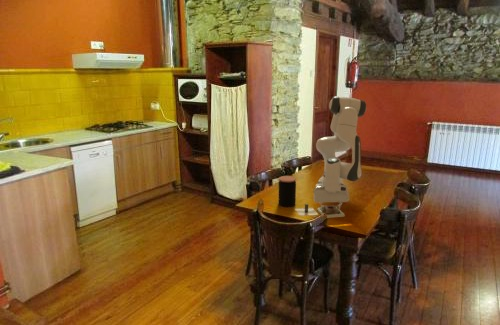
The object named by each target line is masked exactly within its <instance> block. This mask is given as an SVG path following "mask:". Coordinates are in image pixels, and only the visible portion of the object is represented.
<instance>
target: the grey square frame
mask: <svg viewBox="0 0 500 325" xmlns="http://www.w3.org/2000/svg"><path fill="white" fill-rule="evenodd" d="M336 208H337V206H336ZM316 209H317V210H316V212H317V213H318V214H320V215H321V216H322V214H325V212H324V209H321V207H317V208H316ZM341 217H343V218H344V217H345V213H344V212H343V211H342V210H341V209H338V211H337V214H331V215H327V218H326V219H330V218H341Z"/></svg>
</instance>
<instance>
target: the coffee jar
mask: <svg viewBox="0 0 500 325" xmlns="http://www.w3.org/2000/svg"><path fill="white" fill-rule="evenodd" d="M278 180H279V181H278V206H280V207H283V208H292V207H295V206H296V201H297V200H296V198H297V197H296V196H297V193H296V192H297V182H296V180H297V177H295V176H292V175H291V176H290V175H283V176H282V175H281V176H279V177H278Z"/></svg>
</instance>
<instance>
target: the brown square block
mask: <svg viewBox="0 0 500 325" xmlns="http://www.w3.org/2000/svg"><path fill="white" fill-rule="evenodd" d="M323 206H324V210H323V213H324V214H325V215H331V214H338V212H337V211H338V209H337V208H336V207H337V205H333V204H331V205H323Z"/></svg>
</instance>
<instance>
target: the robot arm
mask: <svg viewBox="0 0 500 325" xmlns="http://www.w3.org/2000/svg"><path fill="white" fill-rule="evenodd" d="M328 108H329V111H330V113H331V114H333V115H332V119H331V123H330V127H329V128H330V130H331V132H333V133H334V135H332V136H324V137H321V138H319V139H317V141H316V143H315V148H316V151H317V152H319V153H320V154H321V155H322V158H323V160H324V162H323V163H324V170H323V173H322V176H321V177H320V178H319V180H318V181H317V183H316V184H315V186H314V188H313V191H312V192H313V196H312V198H313V199H312V200H313V201H314V202H315V203H318V204H319V205H320V208H321V209H324V206H325V205H323V203H339V204H338V205H336V207H337V209H339V210H341V207H342V205H343V203H349V201H350V194H349V191H348V190H349V188H348V186H347V185H346V184H345V183H343V182H344V180H347V181H349V182H357V181H358V180H359V179H361V176H362V165H361V164H362V145H361V144H362V143H361V142H362V141H361V137H360V136H359V135H358V133H357V127H358V119H359V118H361V117H363V116H364V115H365V113H366V112H367V103H366V101H365V100H363V99H357V98H354V97H347V96H346V97H345V96H332V98H331V100H330V101H329V104H328ZM350 149H351V154H352V155H351V163H350V162H344V161H341V159H340V158H338V157H337V156H336V153H342V152H343V153H344V152H346V151H349V150H350Z"/></svg>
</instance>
